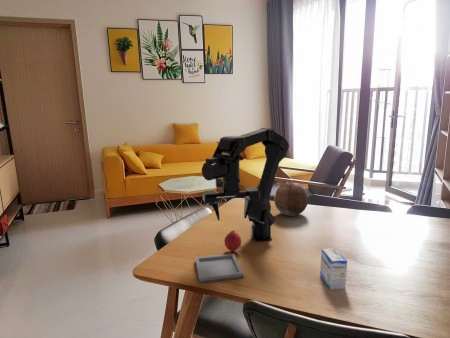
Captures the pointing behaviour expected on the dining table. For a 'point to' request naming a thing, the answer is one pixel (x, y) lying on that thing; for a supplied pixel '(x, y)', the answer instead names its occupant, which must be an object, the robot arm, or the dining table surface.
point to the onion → (232, 241)
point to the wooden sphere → (291, 199)
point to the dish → (218, 268)
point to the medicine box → (333, 268)
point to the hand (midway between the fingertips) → (231, 219)
